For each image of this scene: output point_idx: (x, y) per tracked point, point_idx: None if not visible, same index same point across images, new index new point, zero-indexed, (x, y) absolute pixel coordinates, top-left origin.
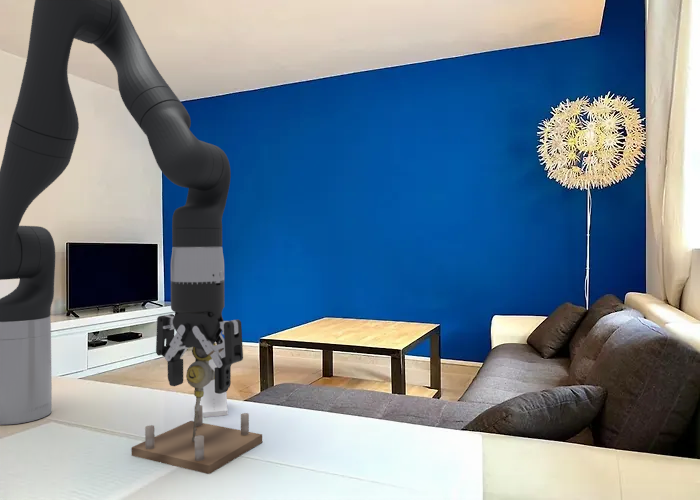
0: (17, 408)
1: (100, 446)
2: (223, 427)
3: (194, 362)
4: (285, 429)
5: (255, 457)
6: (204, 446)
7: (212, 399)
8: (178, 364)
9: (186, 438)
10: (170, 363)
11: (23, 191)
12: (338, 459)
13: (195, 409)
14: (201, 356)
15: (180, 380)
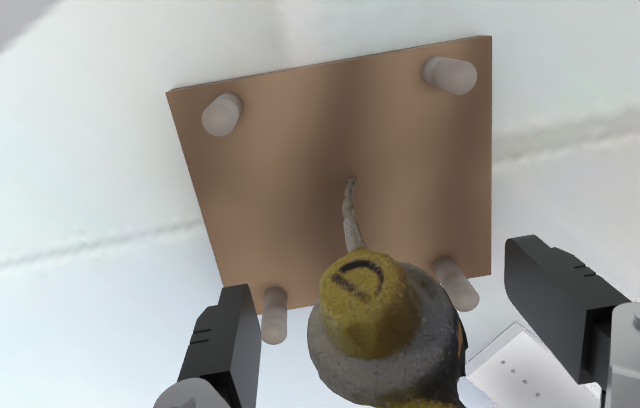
0: None
1: (630, 20)
2: None
3: (425, 366)
4: None
5: (171, 235)
6: (297, 176)
7: (540, 392)
8: (565, 334)
9: (394, 183)
10: (598, 300)
11: None
12: (3, 337)
13: (353, 220)
14: None
15: (513, 288)
